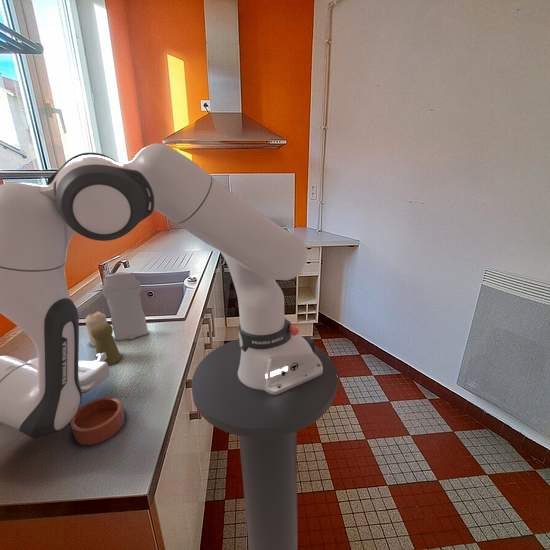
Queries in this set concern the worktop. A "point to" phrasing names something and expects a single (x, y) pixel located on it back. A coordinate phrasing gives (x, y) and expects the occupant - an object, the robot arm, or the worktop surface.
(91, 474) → the worktop surface
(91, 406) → the holder
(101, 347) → the cork
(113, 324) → the grey tall flat block
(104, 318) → the candle
